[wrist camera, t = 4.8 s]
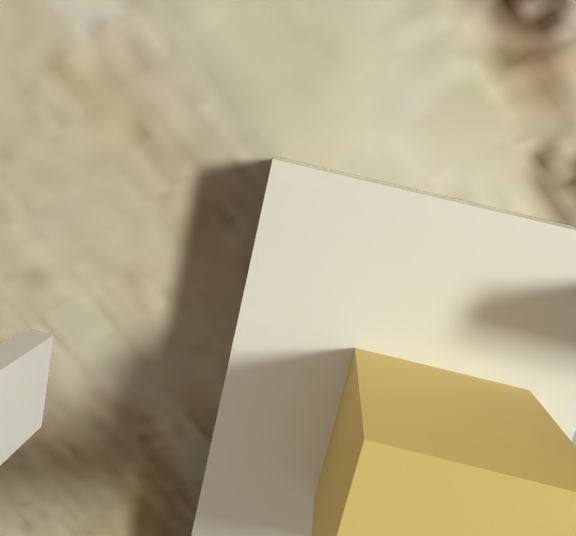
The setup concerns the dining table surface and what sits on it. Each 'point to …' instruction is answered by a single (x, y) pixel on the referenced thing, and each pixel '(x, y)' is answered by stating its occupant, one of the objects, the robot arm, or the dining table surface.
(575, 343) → the board
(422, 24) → the dining table surface
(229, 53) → the dining table surface
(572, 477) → the block
